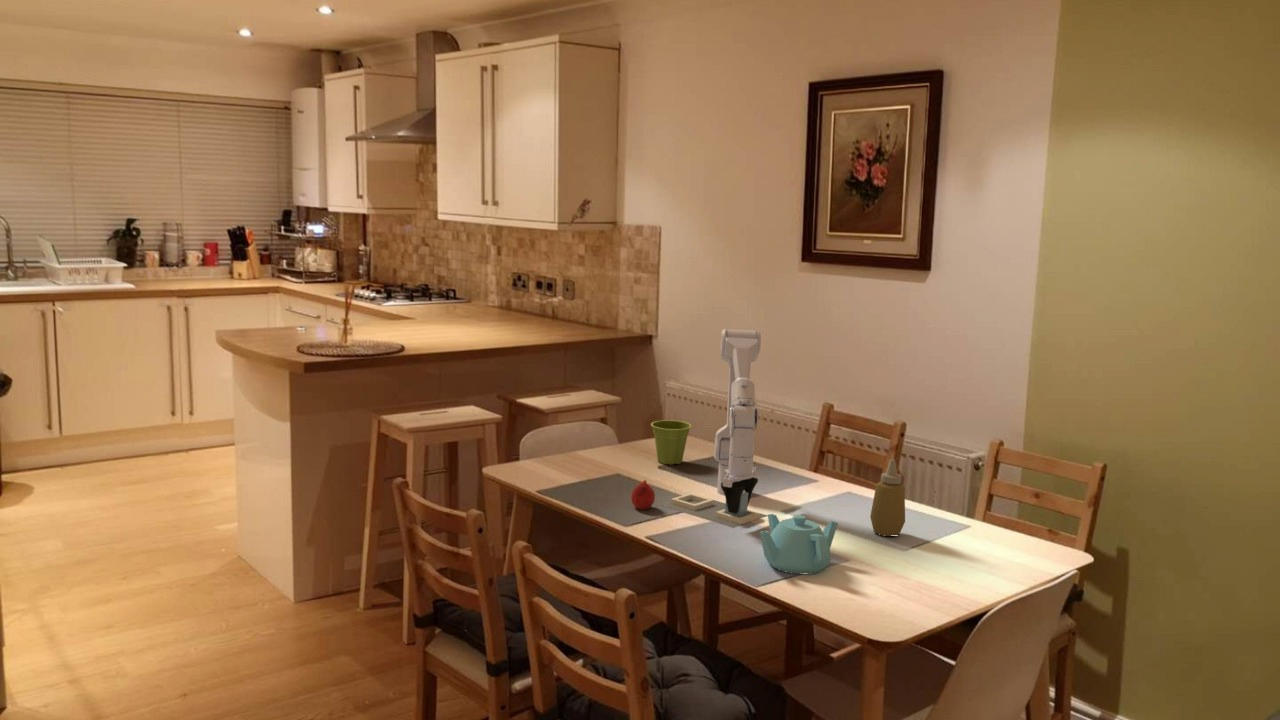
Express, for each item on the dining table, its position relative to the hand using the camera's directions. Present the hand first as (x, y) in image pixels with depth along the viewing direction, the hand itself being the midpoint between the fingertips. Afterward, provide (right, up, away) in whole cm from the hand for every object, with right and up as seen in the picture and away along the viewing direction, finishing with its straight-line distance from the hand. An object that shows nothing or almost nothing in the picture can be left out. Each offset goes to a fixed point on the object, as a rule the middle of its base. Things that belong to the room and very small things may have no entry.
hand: (737, 509), depth 243 cm
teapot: (+10, -8, -27) cm, 30 cm away
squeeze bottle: (+35, -5, -4) cm, 35 cm away
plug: (-1, -2, +1) cm, 2 cm away
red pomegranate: (-23, -1, +5) cm, 24 cm away
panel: (-5, -2, +5) cm, 8 cm away
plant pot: (-15, +6, +53) cm, 56 cm away
